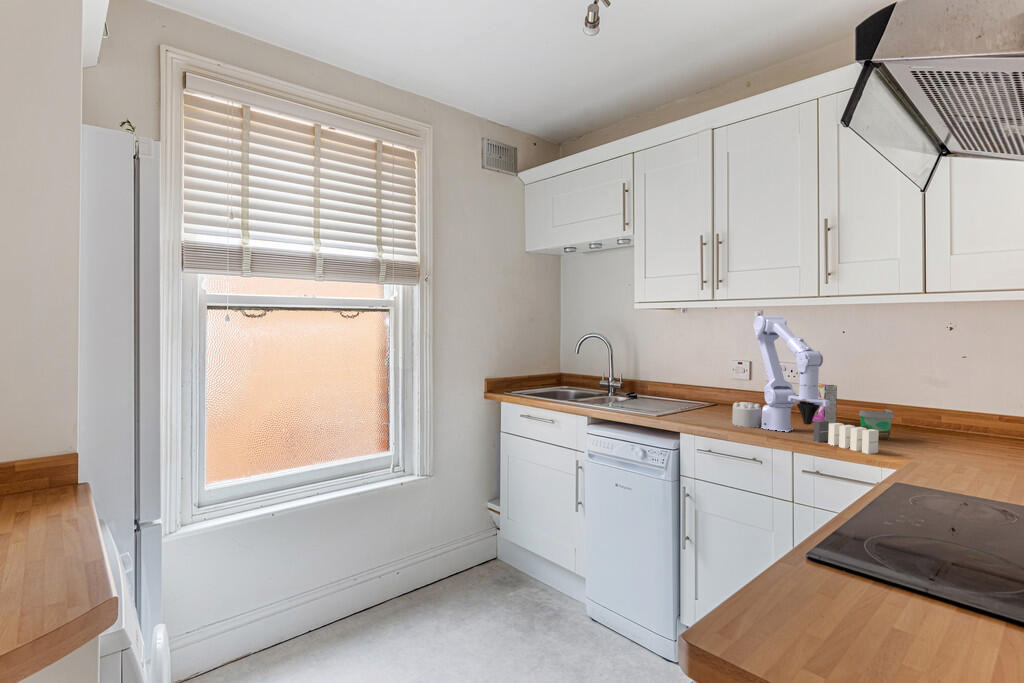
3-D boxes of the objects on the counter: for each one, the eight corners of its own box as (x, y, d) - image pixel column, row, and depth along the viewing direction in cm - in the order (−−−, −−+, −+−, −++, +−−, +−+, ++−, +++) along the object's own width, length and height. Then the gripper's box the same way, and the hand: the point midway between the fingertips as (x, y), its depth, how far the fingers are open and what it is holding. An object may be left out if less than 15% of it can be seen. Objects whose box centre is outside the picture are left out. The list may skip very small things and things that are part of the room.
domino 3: (850, 449, 162) (850, 427, 161) (859, 448, 163) (860, 426, 163) (856, 451, 160) (857, 428, 159) (865, 450, 161) (866, 428, 161)
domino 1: (828, 444, 168) (828, 423, 168) (837, 443, 170) (838, 422, 170) (833, 445, 167) (834, 424, 166) (843, 444, 168) (844, 423, 168)
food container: (874, 442, 173) (875, 412, 172) (858, 438, 179) (859, 410, 178) (902, 440, 176) (903, 411, 176) (885, 436, 182) (886, 408, 182)
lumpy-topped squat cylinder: (760, 423, 206) (760, 401, 206) (761, 428, 194) (762, 406, 194) (732, 421, 210) (732, 400, 210) (732, 426, 198) (732, 404, 198)
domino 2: (838, 447, 165) (839, 425, 165) (848, 446, 167) (848, 424, 166) (844, 448, 163) (845, 426, 163) (854, 447, 165) (855, 426, 164)
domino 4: (861, 452, 158) (862, 430, 158) (871, 451, 160) (872, 429, 159) (868, 453, 156) (869, 431, 156) (877, 452, 158) (878, 430, 158)
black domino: (813, 441, 173) (813, 420, 173) (822, 440, 175) (823, 420, 175) (818, 442, 172) (819, 421, 171) (828, 441, 173) (828, 421, 173)
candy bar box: (807, 421, 212) (809, 381, 211) (820, 421, 212) (821, 381, 211) (823, 426, 201) (825, 384, 200) (836, 426, 201) (837, 385, 200)
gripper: (782, 383, 183) (781, 421, 183) (819, 388, 169) (818, 428, 170) (796, 382, 185) (795, 420, 186) (834, 387, 172) (833, 427, 172)
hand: (807, 424), depth 178 cm, fingers closed
